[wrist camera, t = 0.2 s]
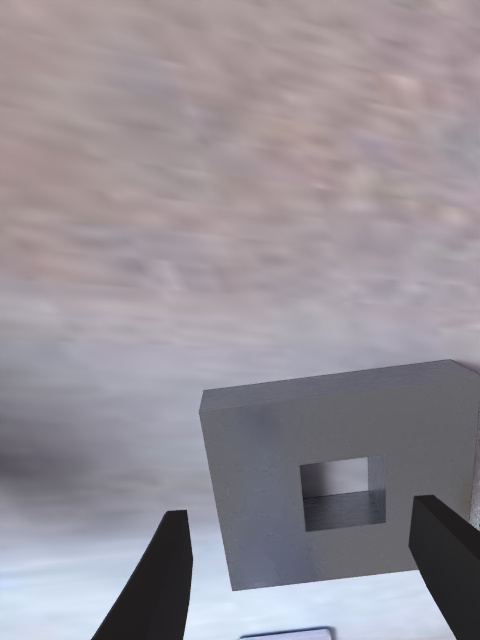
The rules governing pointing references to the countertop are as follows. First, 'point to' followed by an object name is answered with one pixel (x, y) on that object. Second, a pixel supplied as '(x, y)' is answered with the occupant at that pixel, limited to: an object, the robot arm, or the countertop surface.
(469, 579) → the robot arm
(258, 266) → the countertop surface
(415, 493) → the plate
